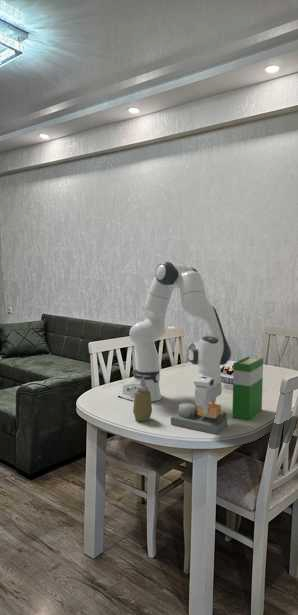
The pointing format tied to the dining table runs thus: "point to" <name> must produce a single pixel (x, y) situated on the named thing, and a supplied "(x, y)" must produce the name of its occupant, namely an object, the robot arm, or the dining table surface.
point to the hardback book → (247, 388)
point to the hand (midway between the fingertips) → (208, 410)
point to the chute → (210, 410)
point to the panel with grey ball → (198, 420)
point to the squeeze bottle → (142, 402)
